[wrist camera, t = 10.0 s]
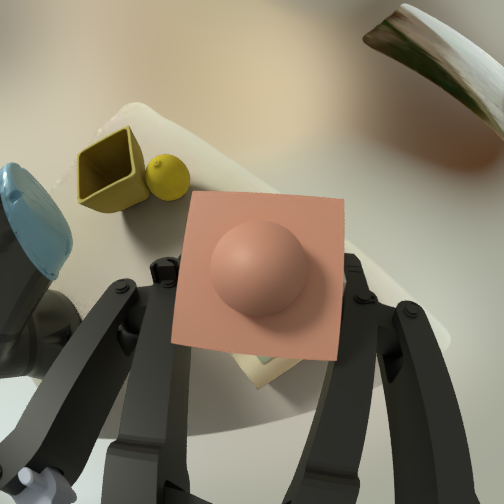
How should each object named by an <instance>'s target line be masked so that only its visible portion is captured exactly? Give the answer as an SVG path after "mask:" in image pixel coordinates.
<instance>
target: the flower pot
mask: <svg viewBox="0 0 504 504" xmlns="http://www.w3.org/2000/svg"><path fill="white" fill-rule="evenodd" d="M149 195H150V191H149V188H148V186H147V183H146V179H145V165H144V159H143V154H142V151H141V148H140V146H139V144H138V142H137V140H136V138H135V136H134V135H133V133H132V131H131V129H130V127H129V126H126V127H123V128H121V129H119V130H117V131H115V132H113V133H112V134H110V135H108V136H106V137H104V138H102V139H101V140H99V141H97V142H96V143H94V144H92V145H90V146H89V147H87V148H85V149H84V150H82V151H81V152H80V153H78V155H77V198H78V203H79V204H81V205H84V206H86V207H88V208H91V209H93V210H96V211H98V212H102V213H114V212H118V211H122V210H124V209H126V208H128V207H130V206H133V205H135V204H137V203H139V202H141V201H144V200H146V199H148V198H149Z"/></svg>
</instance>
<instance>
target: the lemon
mask: <svg viewBox="0 0 504 504" xmlns="http://www.w3.org/2000/svg"><path fill="white" fill-rule="evenodd" d="M145 179H146V183H147V186H148V188H149V189H150V191H151V192H152V193H153V194H154V195H155V196H156V197H158V198H160V199H162V200H166V201H172V200H176V199H179V198H180V197H182V196H183V195H184V194H185V193H186V191H187V190H188V187H189V185H190V175H189V171H188V169H187V167H186V165H185V164H184V163H183V162H182V161H181V160H180V159H179V158H177V157H175V156H173V155H169V154H163V155H159V156H157V157H155V158H154V159H152V160H151V161H150V163H149V164H148V166H147V168H146V171H145Z"/></svg>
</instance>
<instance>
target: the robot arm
mask: <svg viewBox="0 0 504 504" xmlns="http://www.w3.org/2000/svg"><path fill="white" fill-rule="evenodd" d="M72 246H73V239H72V234H71V230H70V228H69V225H68V223H67V221H66V219H65V217H64V216H63V214H62V212H61V211H60V209H59V208H58V206H57V205H56V203H55V202H54V201H53V199H52V198H51V197H50V195H49V194H48V193H47V191H46V190H45V189H44V188H43V187H42V186H41V184H40V183H39V182H38V181H37V180H36V179H35V178H34V177H33V176H32V175H31V174H30V173H29V172H28V171H27V170H26V169H24V168H21V167H20V165H18V164H16V163H13V162H11V163H8V164H7V165H6V166H3V167H2V168H1V170H0V379H1V378H11V377H19V376H30V377H33V378H37V379H42V382H41V383H40V385H39V387H38V388H37V390H36V392H35V393H34V395H33V397H32V398H31V400H30V402H29V404H28V405H27V407H26V409H25V411H24V413H23V414H22V416H21V418H20V420H19V422H18V424H17V425H16V428H15V429H14V430H13V431H12V432H11V433H10V434H9V435H8V436H7V437H6V438H5V439H4V440H3V441H2V442H1V443H0V490H1V491H3V492H5V493H7V494H10V495H11V496H12V498H13V499H14V501H15V502H16V504H71V503H74V502H75V501H76V499H77V496H76V493H75V492H74V490H72V488H71V487H72V485H73V484H74V483H75V482H76V481H77V479H78V478H79V476H80V474H81V473H82V471H83V469H84V467H85V465H86V463H87V461H88V459H89V456H90V454H91V452H92V449H93V447H94V445H95V442H96V440H97V438H98V436H99V434H100V431H101V429H102V427H103V425H104V423H105V420H106V418H107V416H108V414H109V412H110V410H111V408H112V406H113V403H114V401H115V399H116V397H117V395H118V393H119V391H120V389H121V387H122V385H123V383H124V381H125V379H126V377H127V375H128V373H129V371H130V369H131V371H130V376H129V381H128V385H127V390H126V395H125V401H124V406H123V412H122V417H121V423H120V430H119V435H118V438H117V440H116V441H114V442H112V443H110V445H109V447H108V449H107V453H106V460H105V467H104V476H103V486H102V497H101V504H212V503H210V502H207V501H205V500H203V499H201V498H199V497H196V496H194V495H192V494H190V481H189V475H188V471H187V464H186V454H187V450H186V449H187V448H186V447H187V414H188V392H189V374H190V359H191V347H190V346H185V345H179V344H174V343H171V337H172V326H173V317H174V308H175V299H176V291H177V283H178V276H179V269H180V262H181V255H182V253H181V255H180V256H179V258H178V259H177V258H174V257H165V258H160V259H158V260H156V261H154V262H153V263H152V264H151V265H150V271H151V275H152V279H153V282H154V284H153V285H152V286H145V287H137V286H136V283H135V282H134V281H133V280H131V279H120V280H117V281H115V282H113V283H112V284H111V285H110V286H109V287H108V289H107V290H106V291H105V292H104V294H103V295H102V296H101V298H100V299H99V300H98V301H97V303H96V304H95V305H94V307H93V308H92V309H91V311H90V312H89V313H88V315H87V316H86V317H85V319H84V320H83V321H82V323H81V322H80V319H79V316H78V313H77V311H76V309H75V307H74V306H73V304H72V303H71V301H70V300H69V299H68V298H67V297H66V296H65V295H64V294H62V293H60V292H58V291H55V290H49V289H48V288H49V286H50V285H51V283H52V282H53V280H56V279H57V278H58V275H59V271H60V269H61V267H62V266H63V264H64V263H65V261H66V260H67V258H68V257H69V255H70V253H71V250H72ZM120 325H121V326H120ZM119 326H120V327H119ZM376 353H377V357H378V362H379V367H380V372H381V378H382V383H383V388H384V394H385V401H386V407H387V414H388V421H389V429H390V437H391V447H392V457H393V470H394V488H395V504H480V502H479V500H478V498H477V496H476V494H475V490H474V481H473V472H472V466H471V459H470V453H469V448H468V443H467V438H466V433H465V429H464V425H463V421H462V417H461V413H460V409H459V405H458V402H457V398H456V395H455V392H454V388H453V385H452V382H451V379H450V376H449V373H448V370H447V367H446V364H445V362H444V358H443V356H442V353H441V350H440V348H439V345H438V343H437V340H436V337H435V335H434V333H433V330H432V328H431V325H430V323H429V321H428V318H427V316H426V314H425V311H424V310H423V309H422V307H421V306H419V305H418V304H417V303H414V302H412V301H401V302H400V303H398V305H397V307H396V308H394V307H391V306H387V305H384V304H381V303H379V302H378V299H377V296H376V295H375V294H374V293H373V292H371V291H370V290H369V288H368V285H367V281H366V278H365V275H364V273H363V269H362V265H361V262H360V260H359V259H358V258H357V257H356V256H355V255H354V254H349V253H344V274H343V294H342V310H341V323H340V334H339V344H338V353H337V361H329V363H328V367H327V371H326V375H325V379H324V383H323V387H322V391H321V394H320V398H319V402H318V405H317V409H316V412H315V415H314V419H313V422H312V425H311V429H310V432H309V435H308V438H307V441H306V444H305V447H304V450H303V453H302V456H301V458H300V461H299V464H298V467H297V469H296V472H295V475H294V477H293V480H292V482H291V485H290V486H289V488H288V490H287V493H286V495H285V497H284V499H283V502H282V504H356V500H357V497H358V493H359V488H360V480H359V478H358V468H359V464H360V460H361V455H362V450H363V446H364V441H365V436H366V430H367V424H368V418H369V412H370V405H371V398H372V390H373V382H374V372H375V361H376Z"/></svg>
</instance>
